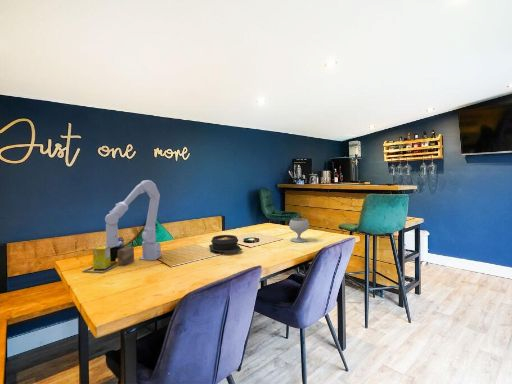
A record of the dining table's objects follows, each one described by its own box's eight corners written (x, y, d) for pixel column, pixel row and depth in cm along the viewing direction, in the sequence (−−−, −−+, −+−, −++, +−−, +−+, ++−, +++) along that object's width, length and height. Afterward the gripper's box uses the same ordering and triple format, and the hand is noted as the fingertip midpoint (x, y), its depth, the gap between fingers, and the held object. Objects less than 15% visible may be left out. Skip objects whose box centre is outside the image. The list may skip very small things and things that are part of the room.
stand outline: (117, 266, 146) (117, 265, 146) (103, 273, 136) (103, 272, 136) (98, 265, 148) (98, 264, 148) (82, 272, 138) (82, 271, 137)
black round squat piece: (249, 252, 172) (248, 238, 172) (222, 257, 161) (222, 243, 160) (226, 244, 192) (226, 232, 191) (201, 249, 180) (201, 236, 180)
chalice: (312, 239, 203) (312, 219, 203) (304, 243, 192) (304, 221, 191) (294, 237, 211) (294, 217, 210) (285, 241, 199) (285, 220, 198)
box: (109, 259, 160) (108, 240, 159) (107, 256, 165) (107, 238, 164) (124, 256, 164) (123, 238, 164) (122, 254, 169) (122, 236, 168)
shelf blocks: (134, 261, 155) (133, 246, 154) (125, 265, 147) (124, 250, 146) (104, 259, 158) (104, 245, 157) (94, 264, 150) (93, 249, 149)
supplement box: (99, 266, 146) (98, 245, 145) (111, 266, 146) (110, 245, 146) (93, 270, 140) (92, 248, 139) (105, 270, 140) (104, 248, 140)
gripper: (114, 233, 158) (115, 257, 159) (95, 238, 144) (96, 265, 145) (125, 233, 157) (126, 257, 158) (108, 239, 143) (109, 265, 144)
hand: (113, 261), depth 151 cm, fingers closed
